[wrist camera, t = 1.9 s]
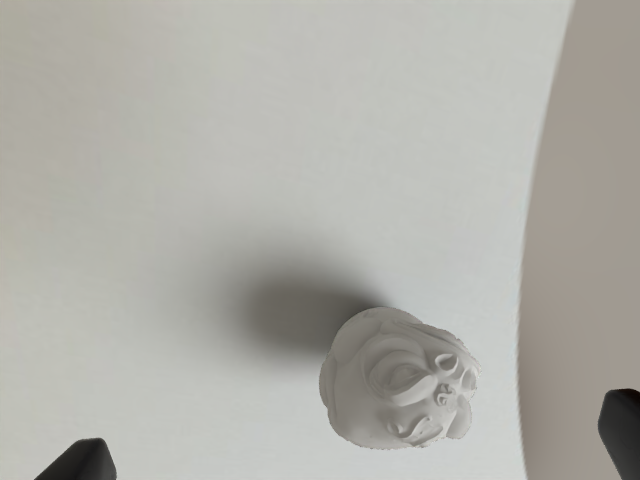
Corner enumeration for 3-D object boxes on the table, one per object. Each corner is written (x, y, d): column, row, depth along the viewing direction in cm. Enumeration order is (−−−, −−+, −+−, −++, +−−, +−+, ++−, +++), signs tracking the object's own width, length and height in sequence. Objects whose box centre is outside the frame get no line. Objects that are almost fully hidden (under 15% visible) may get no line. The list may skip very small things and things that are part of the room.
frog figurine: (471, 310, 22) (541, 423, 16) (376, 395, 24) (404, 524, 18) (382, 242, 20) (421, 338, 14) (287, 340, 22) (284, 462, 16)
